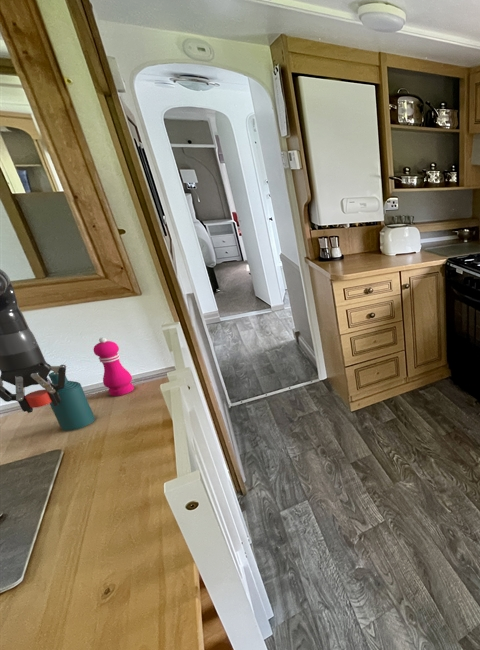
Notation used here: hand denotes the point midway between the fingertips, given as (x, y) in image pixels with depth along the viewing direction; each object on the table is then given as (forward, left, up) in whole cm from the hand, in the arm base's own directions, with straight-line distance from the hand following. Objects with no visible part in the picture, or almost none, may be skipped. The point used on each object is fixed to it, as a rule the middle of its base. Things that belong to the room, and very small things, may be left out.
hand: (43, 407), depth 98 cm
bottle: (-1, +11, -12) cm, 16 cm away
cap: (0, 0, +1) cm, 1 cm away
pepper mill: (+4, +29, -12) cm, 32 cm away
